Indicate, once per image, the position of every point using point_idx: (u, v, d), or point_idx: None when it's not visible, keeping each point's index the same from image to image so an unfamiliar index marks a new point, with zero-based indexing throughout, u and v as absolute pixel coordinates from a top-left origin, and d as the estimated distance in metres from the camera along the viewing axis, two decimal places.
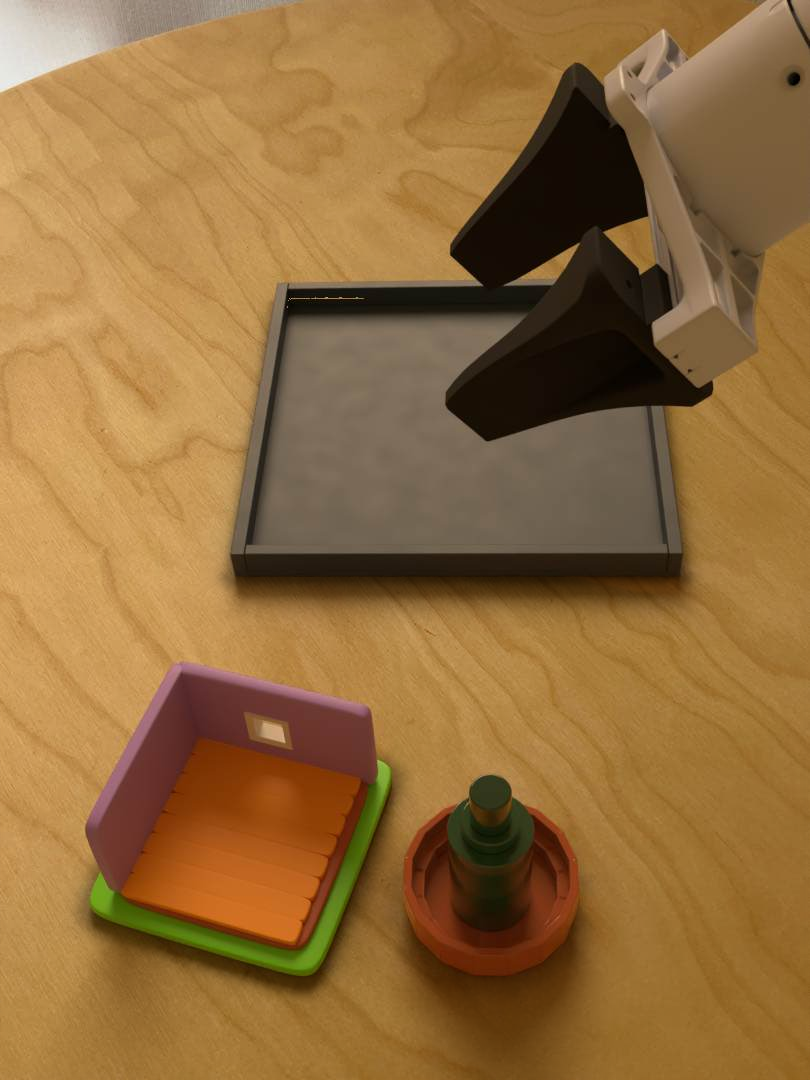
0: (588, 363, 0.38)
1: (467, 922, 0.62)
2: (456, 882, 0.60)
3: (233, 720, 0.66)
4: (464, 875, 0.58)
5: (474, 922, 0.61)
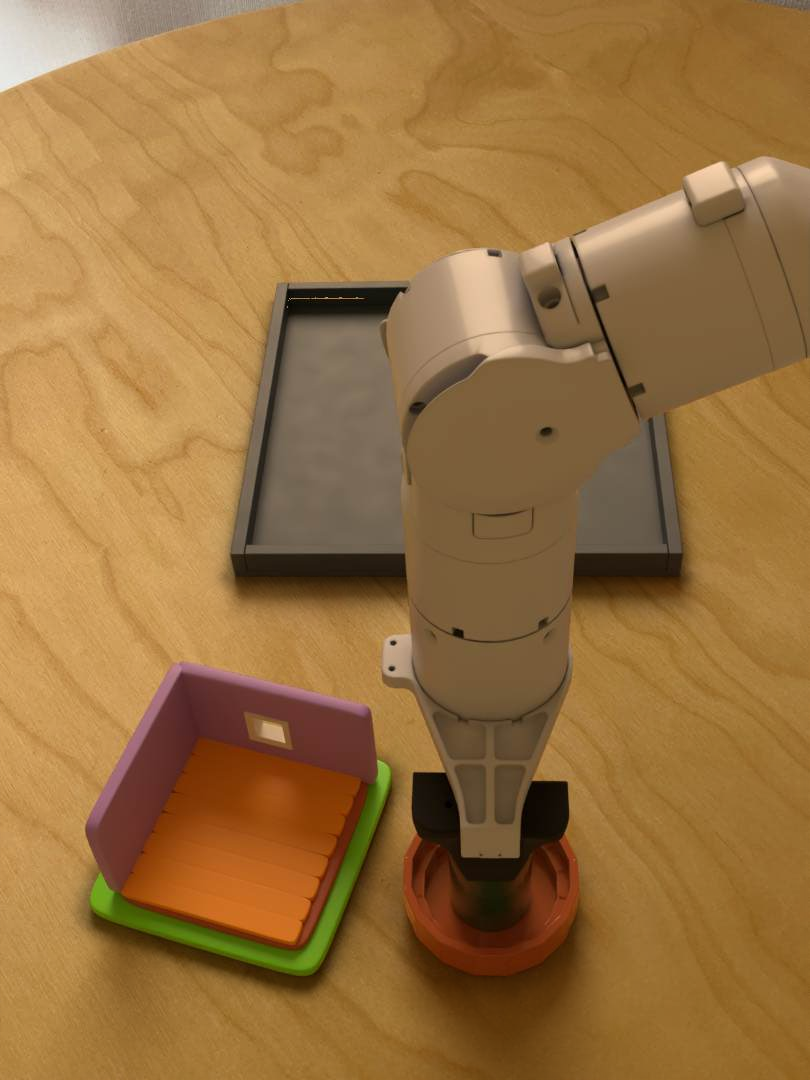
0: None
1: (467, 922, 0.62)
2: (456, 882, 0.60)
3: (233, 720, 0.66)
4: None
5: (474, 922, 0.61)
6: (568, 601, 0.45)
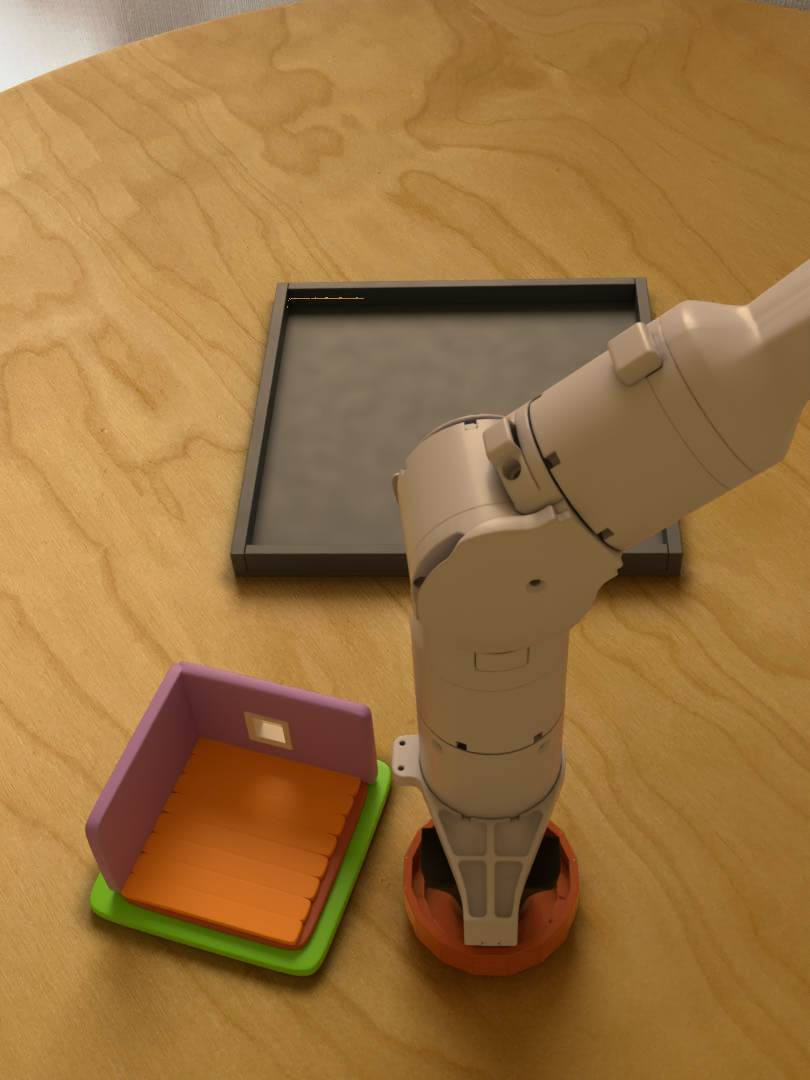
0: None
1: None
2: None
3: (233, 720, 0.66)
4: None
5: None
6: (561, 715, 0.50)
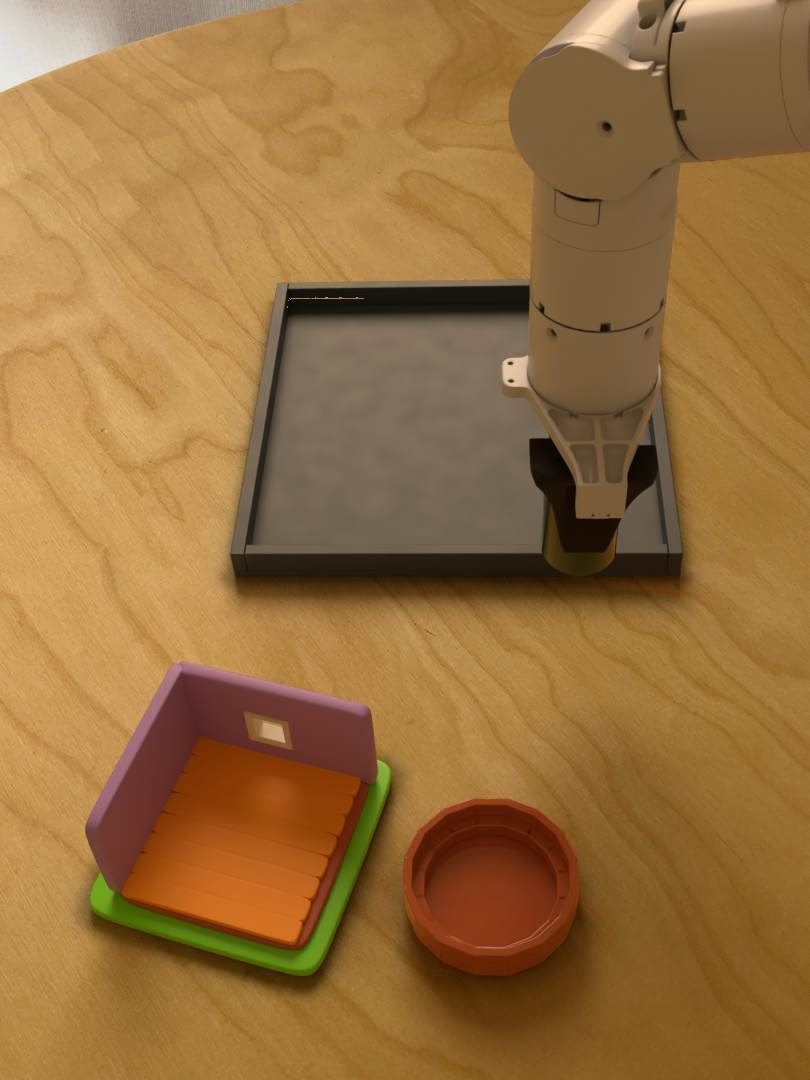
0: None
1: (559, 567, 0.67)
2: (551, 520, 0.65)
3: (233, 720, 0.66)
4: None
5: (565, 566, 0.66)
6: (664, 305, 0.55)
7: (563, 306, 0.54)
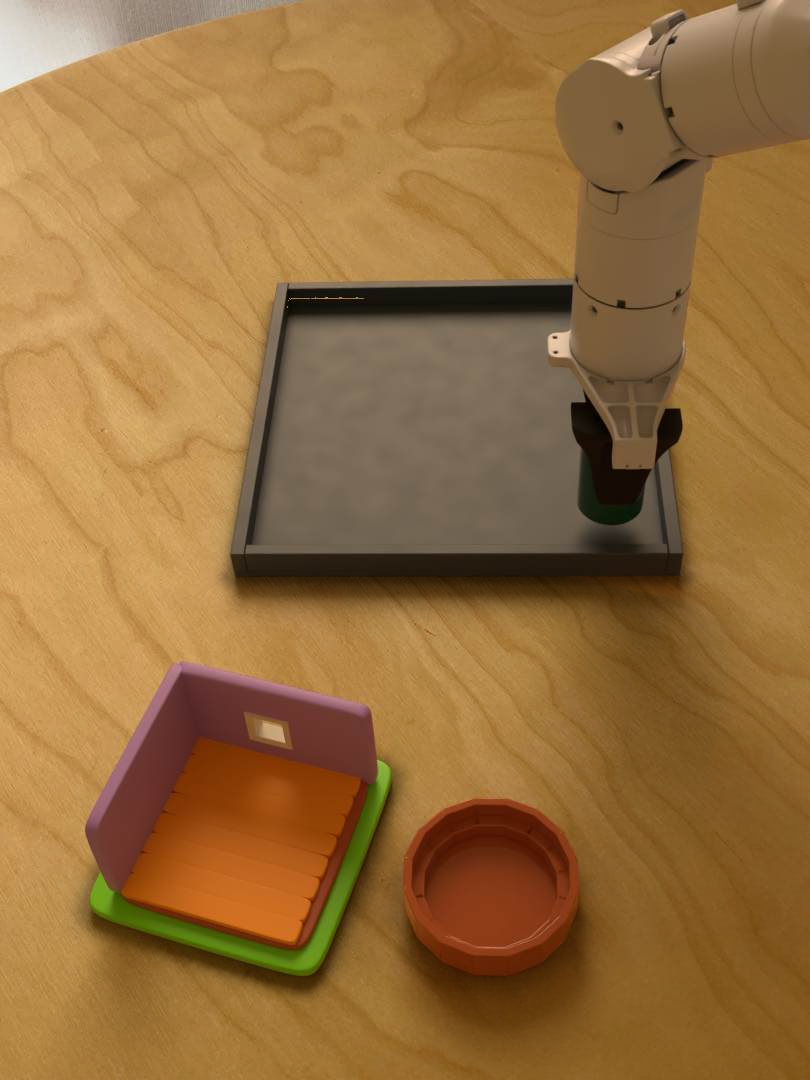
0: None
1: (592, 518, 0.76)
2: (587, 476, 0.74)
3: (233, 720, 0.66)
4: None
5: (599, 517, 0.76)
6: (689, 286, 0.65)
7: (590, 279, 0.64)
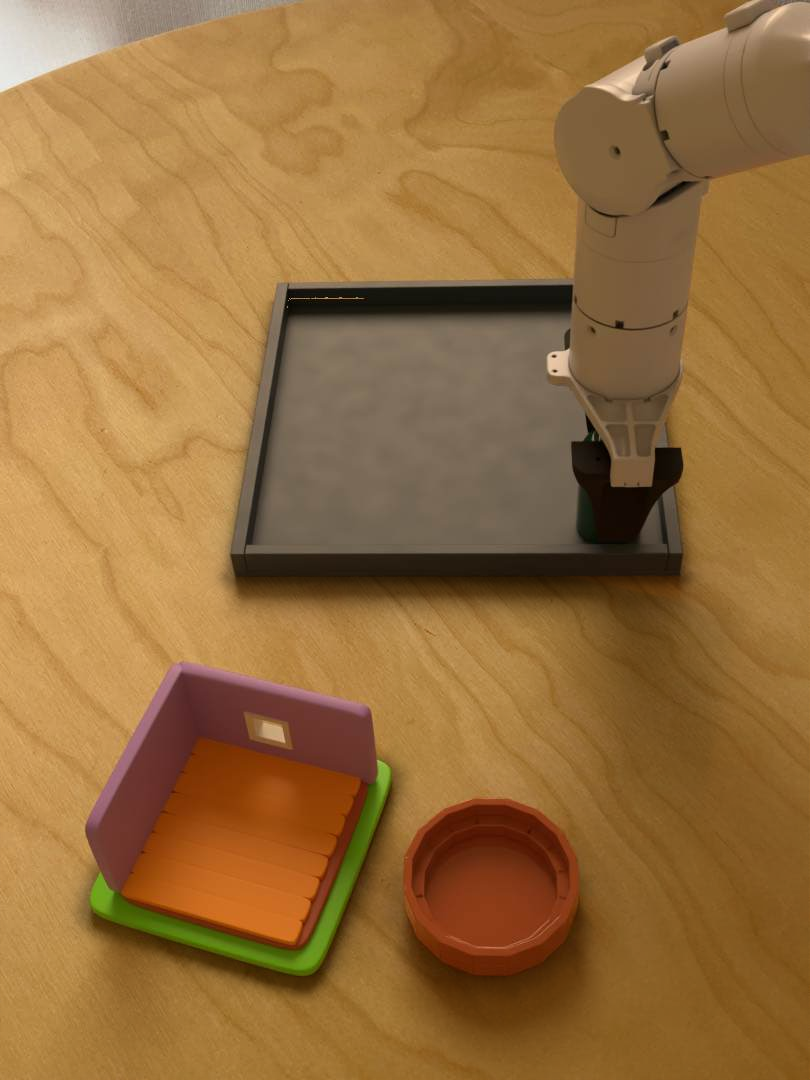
0: (630, 487, 0.70)
1: (591, 540, 0.77)
2: (585, 499, 0.76)
3: (233, 720, 0.66)
4: None
5: (597, 538, 0.77)
6: (686, 307, 0.66)
7: (588, 300, 0.65)
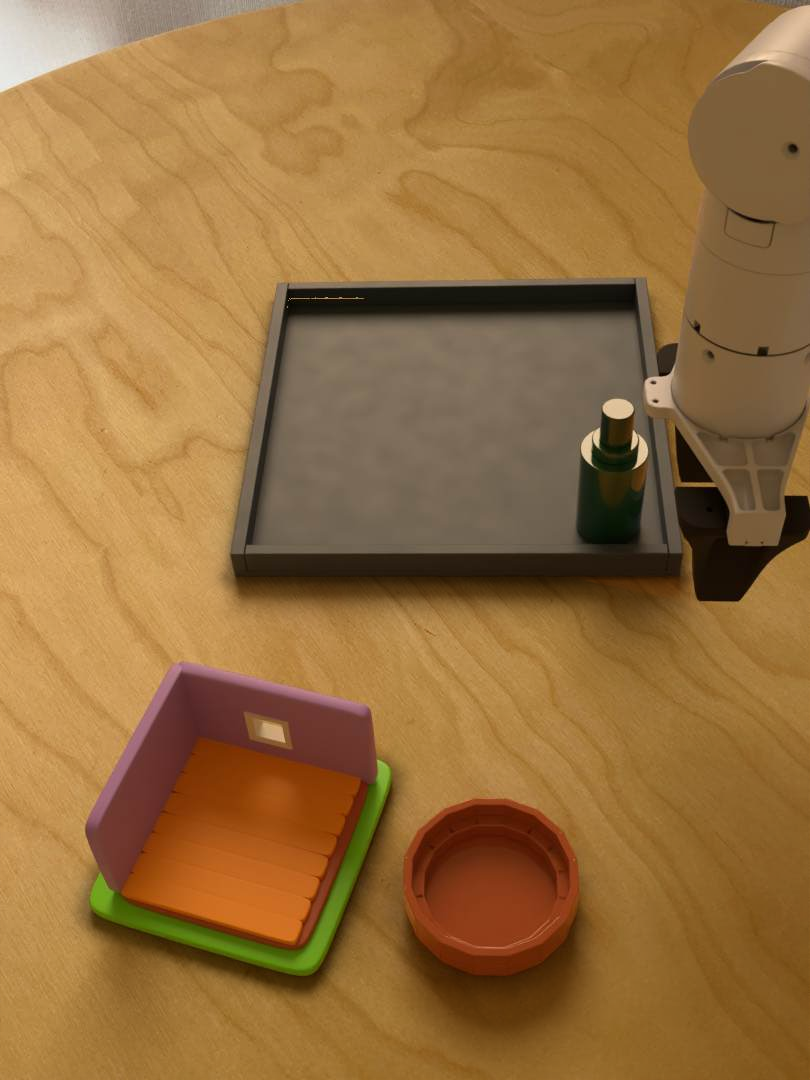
0: None
1: (591, 540, 0.77)
2: (585, 499, 0.76)
3: (233, 720, 0.66)
4: (594, 487, 0.74)
5: (597, 538, 0.77)
6: None
7: (721, 326, 0.53)
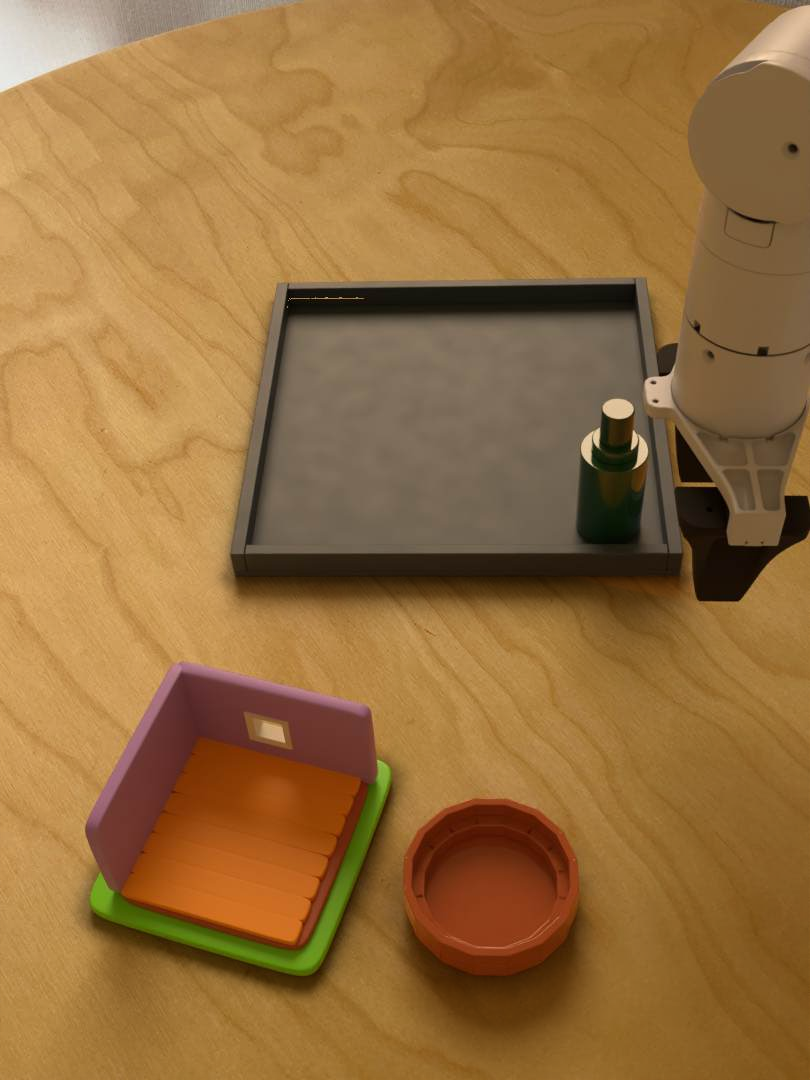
0: None
1: (591, 540, 0.77)
2: (585, 499, 0.76)
3: (233, 720, 0.66)
4: (594, 487, 0.74)
5: (597, 538, 0.77)
6: None
7: (721, 326, 0.53)
